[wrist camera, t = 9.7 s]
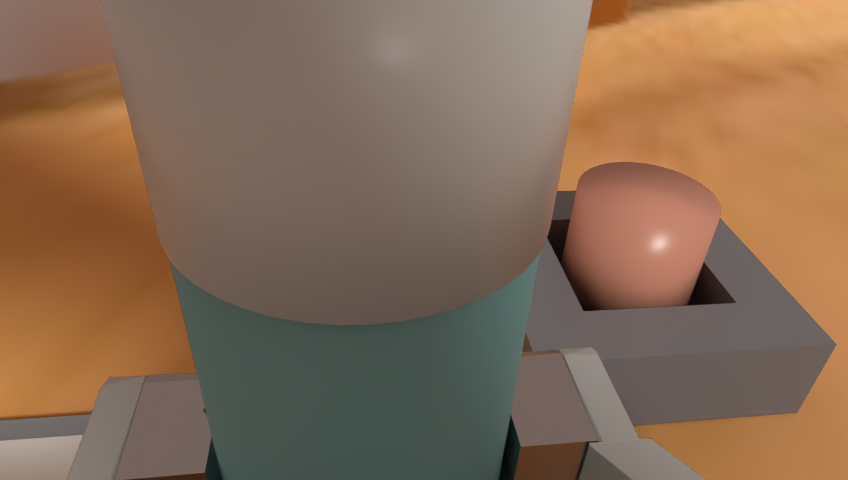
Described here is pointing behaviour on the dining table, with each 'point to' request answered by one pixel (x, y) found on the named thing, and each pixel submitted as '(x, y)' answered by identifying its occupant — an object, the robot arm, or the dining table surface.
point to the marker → (352, 216)
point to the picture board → (40, 447)
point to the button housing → (688, 336)
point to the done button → (637, 236)
